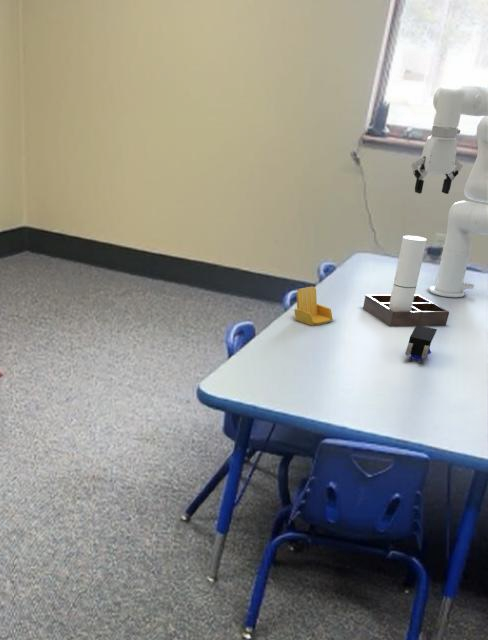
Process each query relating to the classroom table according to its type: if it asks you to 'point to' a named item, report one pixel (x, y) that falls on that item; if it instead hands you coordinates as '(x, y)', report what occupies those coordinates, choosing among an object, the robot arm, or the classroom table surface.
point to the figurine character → (420, 342)
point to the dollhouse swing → (311, 308)
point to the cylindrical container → (407, 273)
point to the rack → (406, 312)
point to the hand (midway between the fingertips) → (431, 192)
